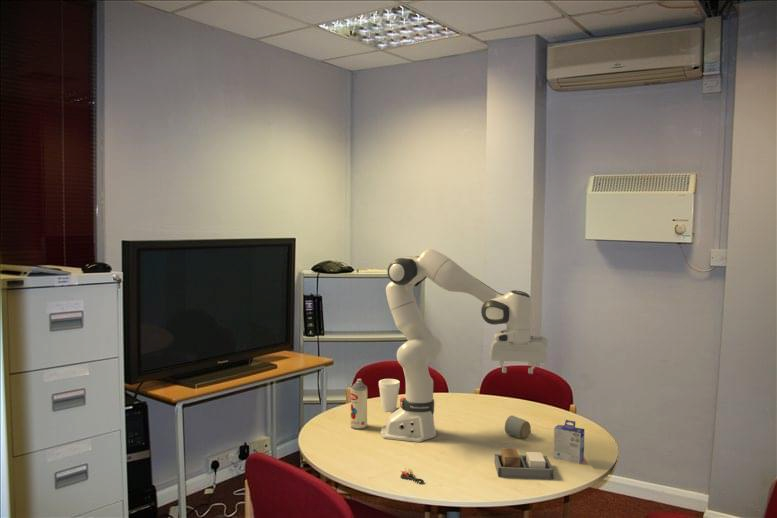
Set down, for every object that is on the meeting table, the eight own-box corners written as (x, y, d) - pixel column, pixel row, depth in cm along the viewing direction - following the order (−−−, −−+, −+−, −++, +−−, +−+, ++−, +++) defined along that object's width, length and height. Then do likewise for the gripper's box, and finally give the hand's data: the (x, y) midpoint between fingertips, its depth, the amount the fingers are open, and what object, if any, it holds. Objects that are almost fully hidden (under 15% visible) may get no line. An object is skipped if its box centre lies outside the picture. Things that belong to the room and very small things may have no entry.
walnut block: (504, 474, 202) (504, 457, 202) (501, 464, 210) (501, 448, 210) (519, 475, 202) (519, 457, 202) (515, 465, 210) (516, 448, 210)
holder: (498, 479, 201) (498, 467, 200) (494, 465, 213) (494, 454, 212) (553, 481, 200) (553, 470, 199) (546, 467, 211) (546, 455, 211)
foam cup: (380, 406, 279) (380, 378, 279) (400, 407, 278) (400, 379, 277) (377, 412, 270) (377, 383, 269) (397, 413, 269) (398, 384, 268)
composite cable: (426, 484, 197) (426, 476, 197) (414, 487, 195) (414, 480, 195) (408, 473, 206) (409, 466, 206) (397, 476, 203) (397, 469, 203)
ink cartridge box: (584, 461, 217) (585, 422, 216) (580, 467, 212) (581, 426, 211) (556, 456, 222) (558, 417, 221) (552, 461, 217) (553, 421, 216)
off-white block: (529, 475, 202) (530, 460, 202) (526, 465, 210) (526, 451, 210) (545, 476, 202) (545, 461, 201) (540, 466, 210) (541, 452, 209)
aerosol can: (347, 425, 252) (348, 378, 251) (362, 423, 256) (362, 376, 254) (355, 430, 246) (355, 382, 245) (370, 427, 250) (370, 380, 248)
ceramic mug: (521, 441, 236) (522, 422, 236) (503, 436, 242) (504, 417, 242) (535, 435, 244) (536, 416, 243) (518, 430, 249) (519, 412, 249)
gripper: (546, 334, 222) (544, 372, 223) (489, 333, 223) (488, 369, 224) (549, 338, 216) (547, 376, 217) (491, 336, 217) (490, 374, 218)
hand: (517, 373), depth 220 cm, fingers open, 8 cm apart
